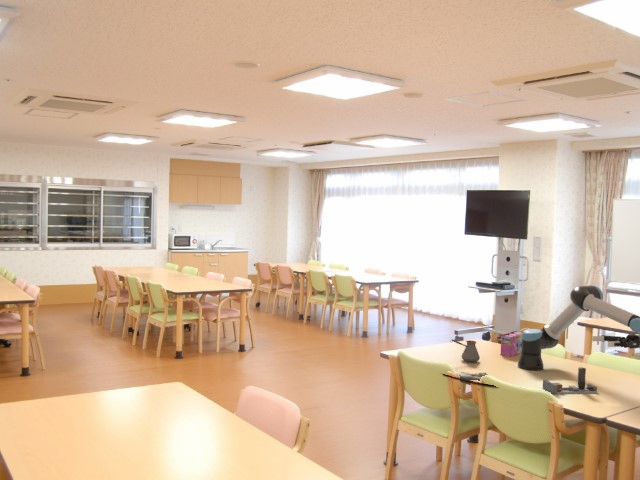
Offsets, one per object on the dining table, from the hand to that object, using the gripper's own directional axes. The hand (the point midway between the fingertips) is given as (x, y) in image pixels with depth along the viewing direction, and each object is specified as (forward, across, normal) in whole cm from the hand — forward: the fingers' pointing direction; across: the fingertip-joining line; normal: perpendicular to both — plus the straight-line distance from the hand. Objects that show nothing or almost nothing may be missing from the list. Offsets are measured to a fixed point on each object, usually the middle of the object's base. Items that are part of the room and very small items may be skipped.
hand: (600, 341), depth 318 cm
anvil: (+28, 0, -27) cm, 39 cm away
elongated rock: (+61, +28, -29) cm, 73 cm away
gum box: (+3, +91, -28) cm, 96 cm away
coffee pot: (+48, +68, -28) cm, 88 cm away
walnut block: (+24, 0, -27) cm, 36 cm away
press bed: (+16, 0, -28) cm, 32 cm away
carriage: (+11, 0, -26) cm, 29 cm away
